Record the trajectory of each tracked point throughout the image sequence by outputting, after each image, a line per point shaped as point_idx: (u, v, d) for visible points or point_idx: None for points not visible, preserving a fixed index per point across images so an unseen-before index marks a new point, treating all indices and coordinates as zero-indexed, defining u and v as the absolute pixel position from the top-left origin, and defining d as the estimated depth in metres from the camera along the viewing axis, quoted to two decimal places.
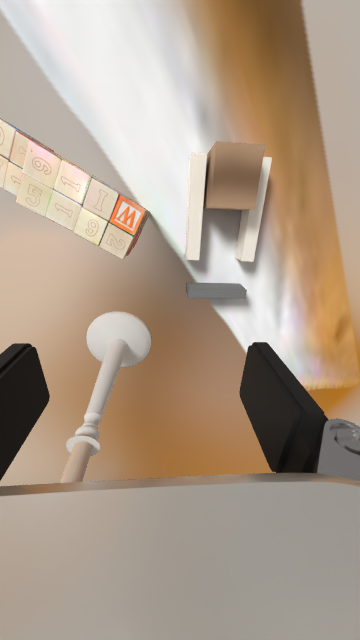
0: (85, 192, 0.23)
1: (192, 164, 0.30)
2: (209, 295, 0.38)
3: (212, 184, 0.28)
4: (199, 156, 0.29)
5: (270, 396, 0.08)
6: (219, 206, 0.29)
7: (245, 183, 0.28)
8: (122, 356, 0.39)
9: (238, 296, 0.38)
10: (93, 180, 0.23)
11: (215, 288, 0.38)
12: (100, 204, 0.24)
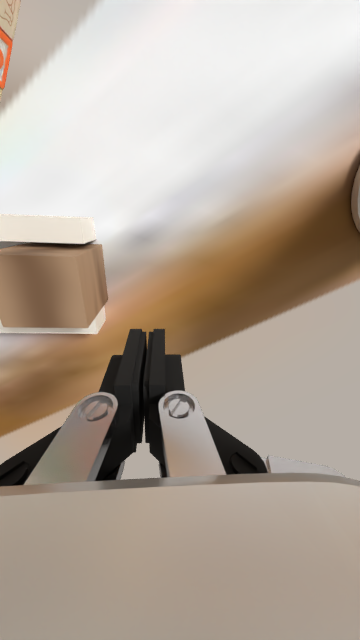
0: None
1: (64, 219, 0.18)
2: None
3: (18, 254, 0.16)
4: (77, 231, 0.19)
5: None
6: None
7: (33, 308, 0.18)
8: None
9: None
10: None
11: None
12: None
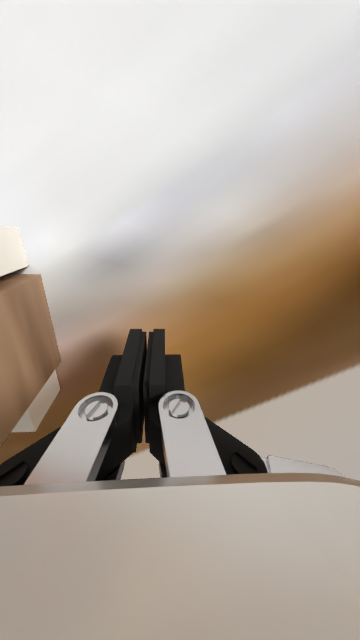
0: None
1: None
2: None
3: None
4: None
5: None
6: None
7: None
8: None
9: None
10: None
11: None
12: None
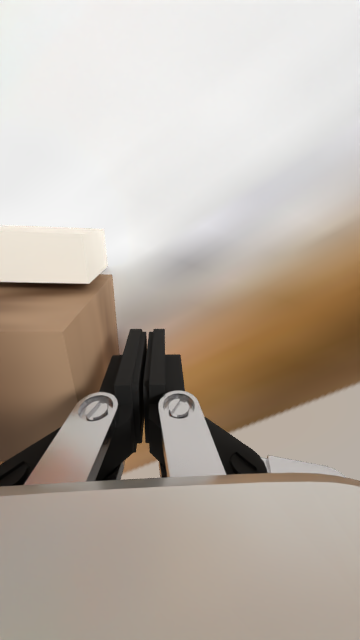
0: None
1: (48, 236, 0.09)
2: None
3: None
4: (76, 260, 0.09)
5: None
6: None
7: None
8: None
9: None
10: None
11: None
12: None
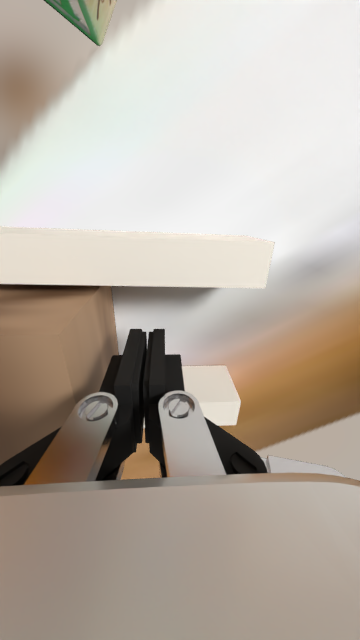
0: None
1: (244, 244, 0.09)
2: None
3: None
4: (261, 266, 0.10)
5: None
6: None
7: None
8: None
9: None
10: None
11: None
12: None
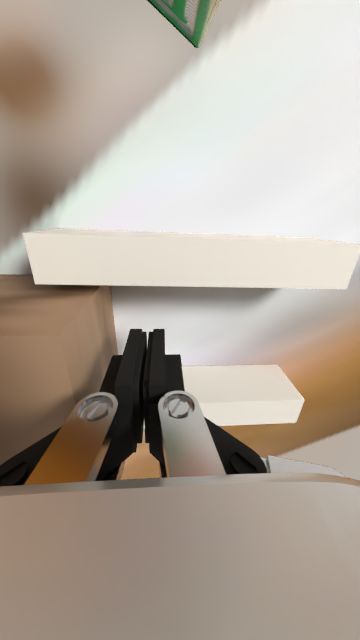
0: None
1: (333, 247, 0.10)
2: None
3: None
4: (346, 268, 0.10)
5: None
6: None
7: None
8: None
9: None
10: None
11: None
12: None
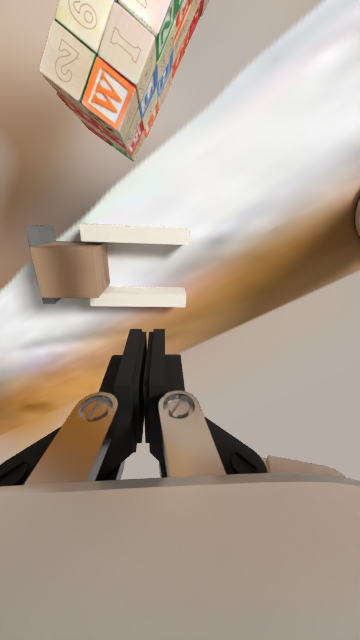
0: (136, 16, 0.15)
1: (180, 229, 0.29)
2: None
3: (55, 248, 0.26)
4: (186, 237, 0.29)
5: None
6: (33, 258, 0.26)
7: (63, 284, 0.27)
8: None
9: None
10: (151, 38, 0.15)
11: None
12: (120, 43, 0.15)
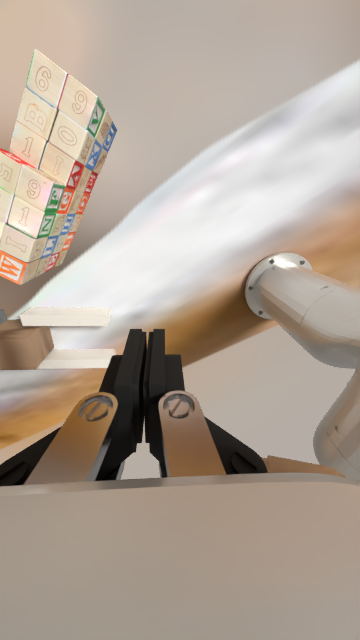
0: (20, 230, 0.23)
1: (98, 316, 0.37)
2: None
3: None
4: (104, 321, 0.38)
5: None
6: None
7: (7, 361, 0.36)
8: None
9: None
10: (32, 240, 0.24)
11: None
12: (12, 243, 0.24)
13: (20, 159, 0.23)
